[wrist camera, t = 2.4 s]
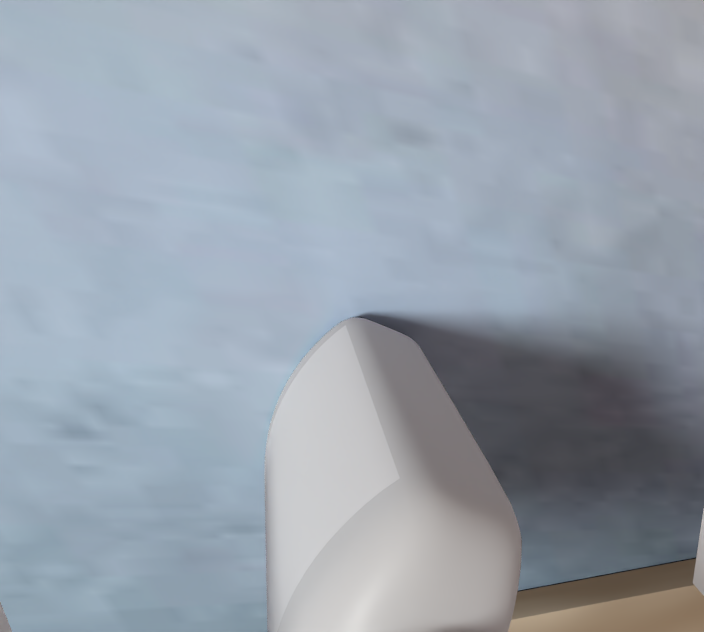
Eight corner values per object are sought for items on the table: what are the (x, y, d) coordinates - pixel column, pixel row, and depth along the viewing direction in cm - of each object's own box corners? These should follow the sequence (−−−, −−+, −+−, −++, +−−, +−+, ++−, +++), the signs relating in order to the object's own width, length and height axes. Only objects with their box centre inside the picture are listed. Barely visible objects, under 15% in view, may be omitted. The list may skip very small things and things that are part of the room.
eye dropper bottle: (206, 410, 16) (93, 1136, 5) (378, 288, 16) (674, 807, 4) (303, 511, 18) (379, 1225, 7) (462, 403, 17) (831, 991, 6)
